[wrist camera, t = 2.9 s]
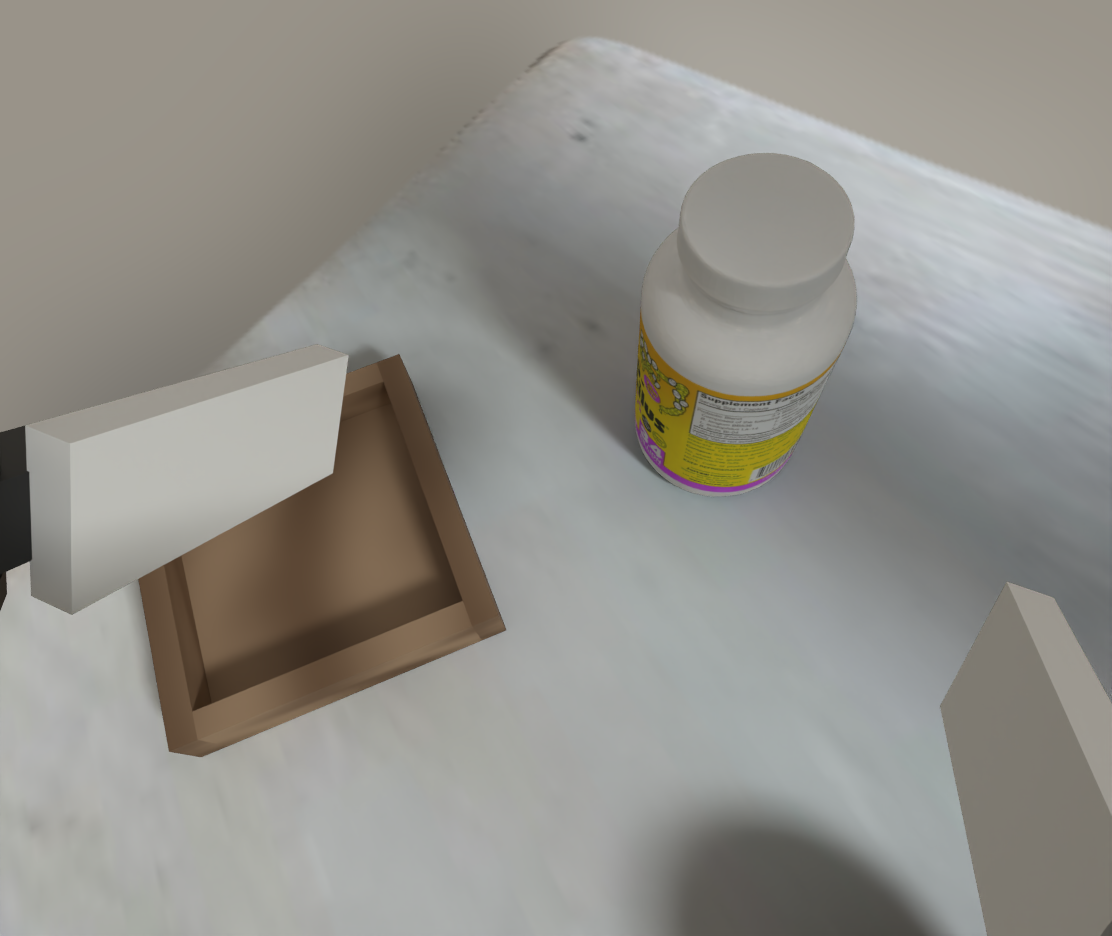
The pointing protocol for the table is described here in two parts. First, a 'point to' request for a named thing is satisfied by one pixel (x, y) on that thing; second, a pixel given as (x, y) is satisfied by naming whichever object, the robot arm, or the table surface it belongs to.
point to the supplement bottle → (743, 322)
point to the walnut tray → (321, 583)
